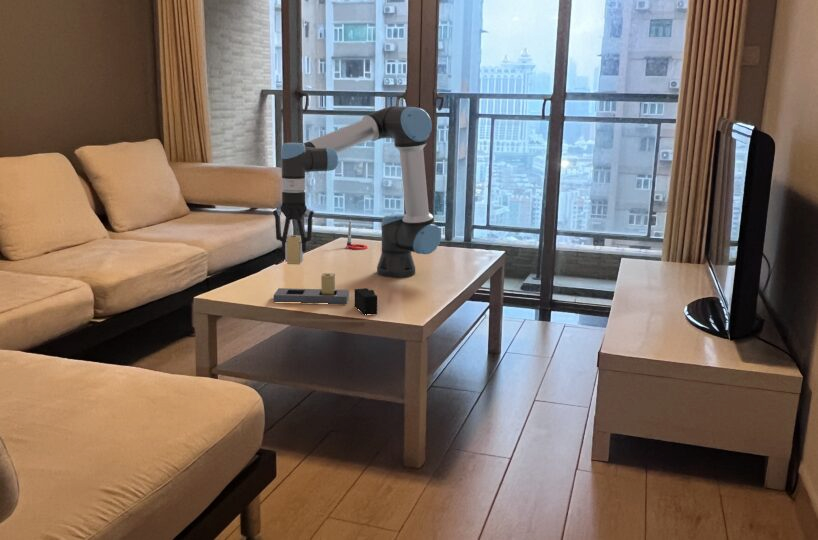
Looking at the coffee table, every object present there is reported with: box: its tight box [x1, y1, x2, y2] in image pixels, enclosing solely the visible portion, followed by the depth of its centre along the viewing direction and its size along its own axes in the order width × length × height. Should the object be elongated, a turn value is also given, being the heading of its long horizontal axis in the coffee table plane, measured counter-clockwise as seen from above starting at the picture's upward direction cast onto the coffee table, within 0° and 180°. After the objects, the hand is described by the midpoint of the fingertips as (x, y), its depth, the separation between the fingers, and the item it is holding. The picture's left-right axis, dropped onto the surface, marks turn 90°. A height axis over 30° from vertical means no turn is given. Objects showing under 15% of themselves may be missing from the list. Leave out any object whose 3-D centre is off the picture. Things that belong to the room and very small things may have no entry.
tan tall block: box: [286, 234, 302, 265], centre depth 253 cm, size 4×4×9 cm
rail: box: [273, 287, 350, 304], centre depth 257 cm, size 24×9×4 cm, turn 89°
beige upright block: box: [320, 272, 336, 295], centre depth 256 cm, size 4×4×9 cm
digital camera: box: [354, 287, 378, 316], centre depth 246 cm, size 10×5×7 cm, turn 22°
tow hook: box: [345, 219, 368, 251], centre depth 345 cm, size 8×13×9 cm
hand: (294, 261), depth 254 cm, fingers closed on tan tall block, 4 cm apart
